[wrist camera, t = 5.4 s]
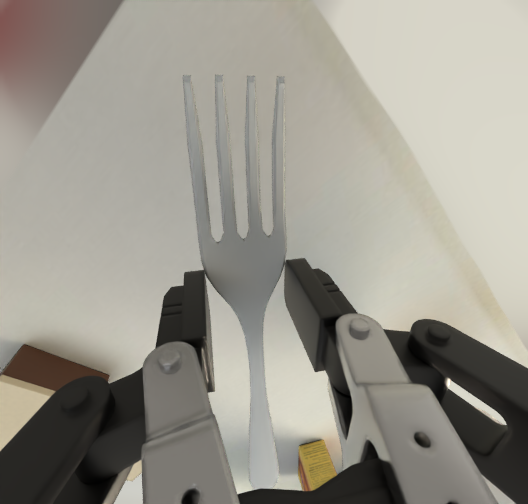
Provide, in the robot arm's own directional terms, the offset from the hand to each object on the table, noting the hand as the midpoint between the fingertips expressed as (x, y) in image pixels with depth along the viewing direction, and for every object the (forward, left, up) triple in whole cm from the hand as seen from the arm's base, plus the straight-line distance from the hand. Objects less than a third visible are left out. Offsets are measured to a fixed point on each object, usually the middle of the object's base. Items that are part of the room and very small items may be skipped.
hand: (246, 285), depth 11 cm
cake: (0, -26, -13) cm, 29 cm away
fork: (+4, -3, 0) cm, 5 cm away
